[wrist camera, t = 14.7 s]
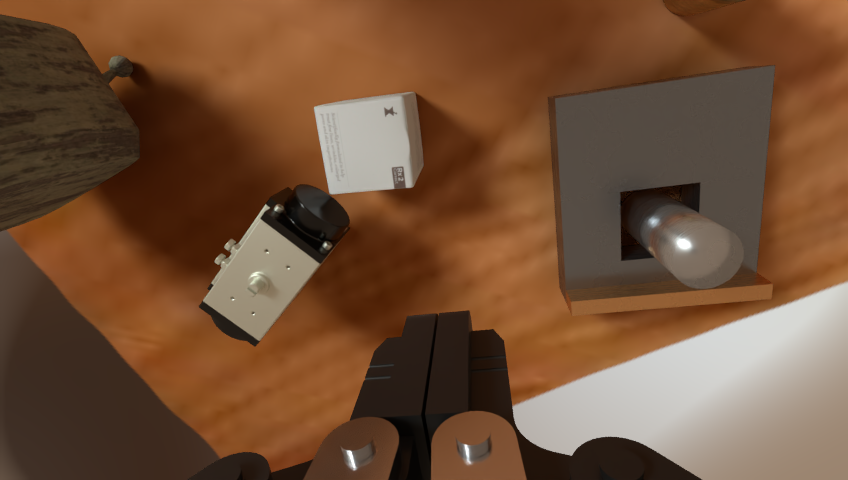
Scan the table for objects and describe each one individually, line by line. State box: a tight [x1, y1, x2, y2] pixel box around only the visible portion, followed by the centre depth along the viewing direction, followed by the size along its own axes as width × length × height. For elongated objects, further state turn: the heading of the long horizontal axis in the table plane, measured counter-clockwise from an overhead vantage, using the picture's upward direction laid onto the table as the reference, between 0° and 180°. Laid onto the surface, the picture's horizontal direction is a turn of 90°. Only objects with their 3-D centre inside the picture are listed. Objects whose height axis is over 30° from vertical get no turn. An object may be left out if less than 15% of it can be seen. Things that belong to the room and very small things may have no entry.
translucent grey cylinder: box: [620, 188, 744, 289], centre depth 31 cm, size 4×4×10 cm
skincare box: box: [314, 92, 424, 194], centre depth 33 cm, size 6×6×7 cm
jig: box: [548, 65, 775, 316], centre depth 33 cm, size 16×14×5 cm
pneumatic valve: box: [199, 184, 350, 346], centre depth 34 cm, size 6×12×12 cm, turn 141°
